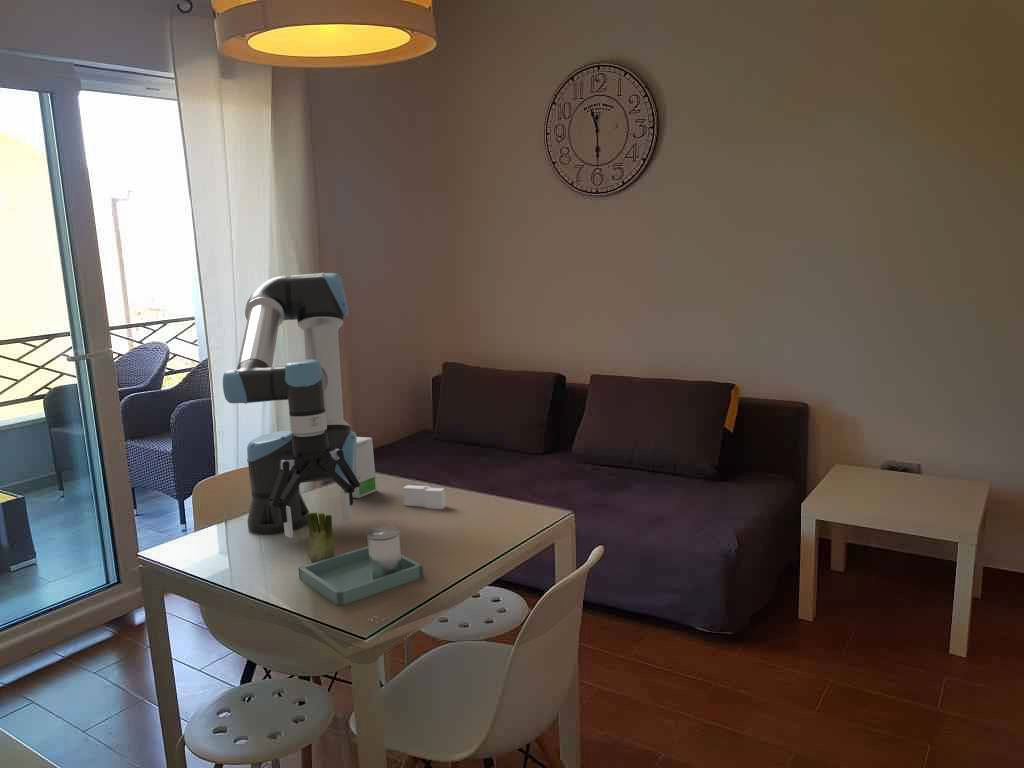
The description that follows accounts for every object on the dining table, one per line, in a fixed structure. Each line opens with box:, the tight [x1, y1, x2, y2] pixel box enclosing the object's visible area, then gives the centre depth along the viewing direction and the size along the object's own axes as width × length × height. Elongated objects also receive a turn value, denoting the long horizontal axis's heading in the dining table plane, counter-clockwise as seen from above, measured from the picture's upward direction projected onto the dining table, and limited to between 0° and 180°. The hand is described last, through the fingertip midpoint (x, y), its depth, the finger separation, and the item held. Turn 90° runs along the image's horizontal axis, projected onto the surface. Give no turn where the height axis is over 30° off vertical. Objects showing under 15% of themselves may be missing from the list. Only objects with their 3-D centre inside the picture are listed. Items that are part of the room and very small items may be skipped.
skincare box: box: [341, 436, 378, 499], centre depth 229 cm, size 8×7×16 cm
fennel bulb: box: [307, 512, 336, 564], centre depth 179 cm, size 6×5×12 cm
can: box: [366, 526, 402, 581], centre depth 167 cm, size 7×7×10 cm
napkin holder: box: [402, 484, 447, 510], centre depth 216 cm, size 15×11×6 cm
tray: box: [298, 545, 424, 607], centre depth 169 cm, size 18×19×4 cm
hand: (318, 528), depth 178 cm, fingers open, 13 cm apart
